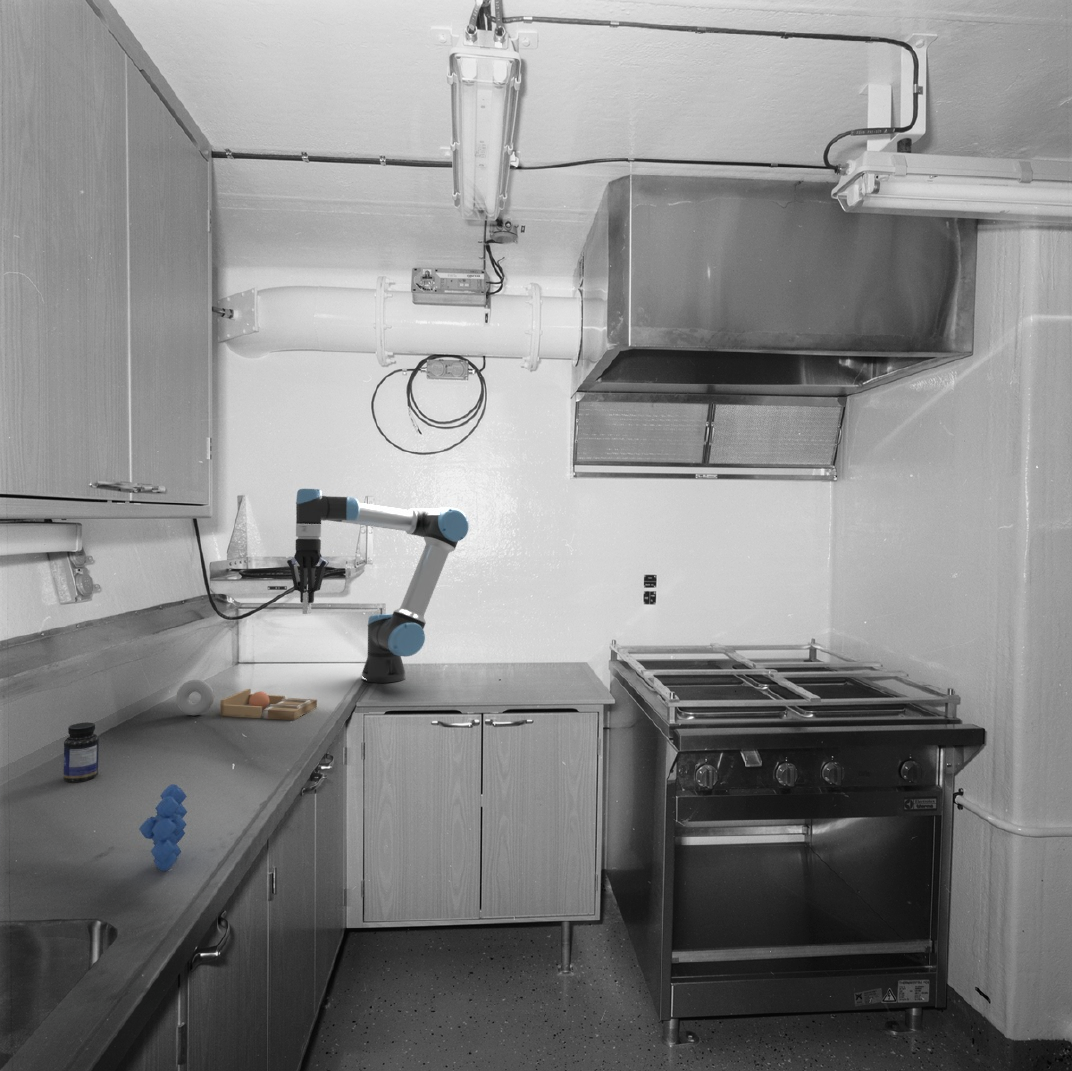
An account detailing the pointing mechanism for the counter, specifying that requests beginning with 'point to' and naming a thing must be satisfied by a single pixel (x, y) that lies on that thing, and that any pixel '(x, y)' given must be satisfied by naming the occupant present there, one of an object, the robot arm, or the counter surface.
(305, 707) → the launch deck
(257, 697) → the ball
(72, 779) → the pill bottle
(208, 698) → the donut
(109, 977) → the counter surface
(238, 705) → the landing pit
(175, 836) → the grapes
